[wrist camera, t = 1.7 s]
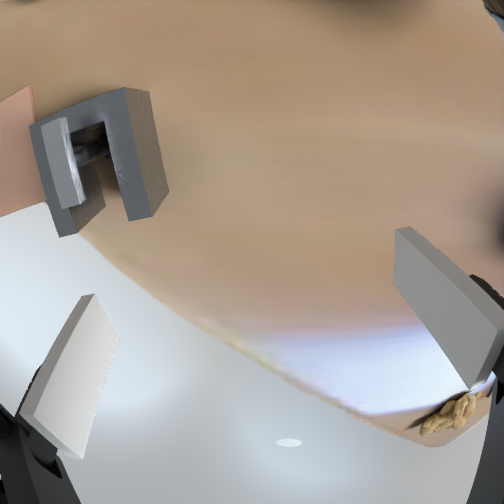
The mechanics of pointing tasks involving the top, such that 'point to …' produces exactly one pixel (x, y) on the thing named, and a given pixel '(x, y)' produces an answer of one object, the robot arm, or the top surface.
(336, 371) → the top surface
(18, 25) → the top surface
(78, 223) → the c link
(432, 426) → the ginger root
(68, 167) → the post stand
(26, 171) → the tile
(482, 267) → the top surface
